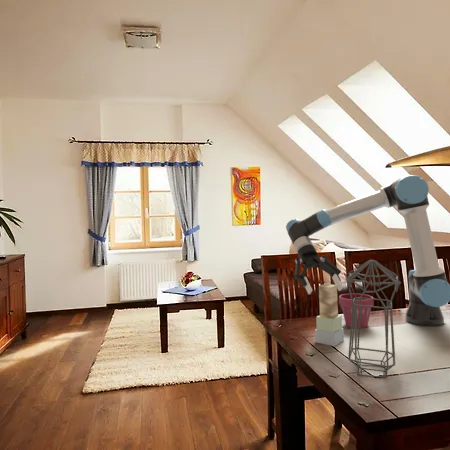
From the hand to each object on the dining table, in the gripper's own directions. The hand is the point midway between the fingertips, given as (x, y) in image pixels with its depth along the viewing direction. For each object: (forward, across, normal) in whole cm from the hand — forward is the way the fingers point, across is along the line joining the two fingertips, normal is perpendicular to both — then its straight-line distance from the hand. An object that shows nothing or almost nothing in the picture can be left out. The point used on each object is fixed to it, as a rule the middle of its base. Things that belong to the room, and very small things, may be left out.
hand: (326, 290), depth 147 cm
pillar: (+8, 0, -6) cm, 10 cm away
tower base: (+15, 0, -13) cm, 20 cm away
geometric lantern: (+36, +3, +8) cm, 37 cm away
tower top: (+11, 0, -10) cm, 15 cm away
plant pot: (+5, -22, -23) cm, 32 cm away
